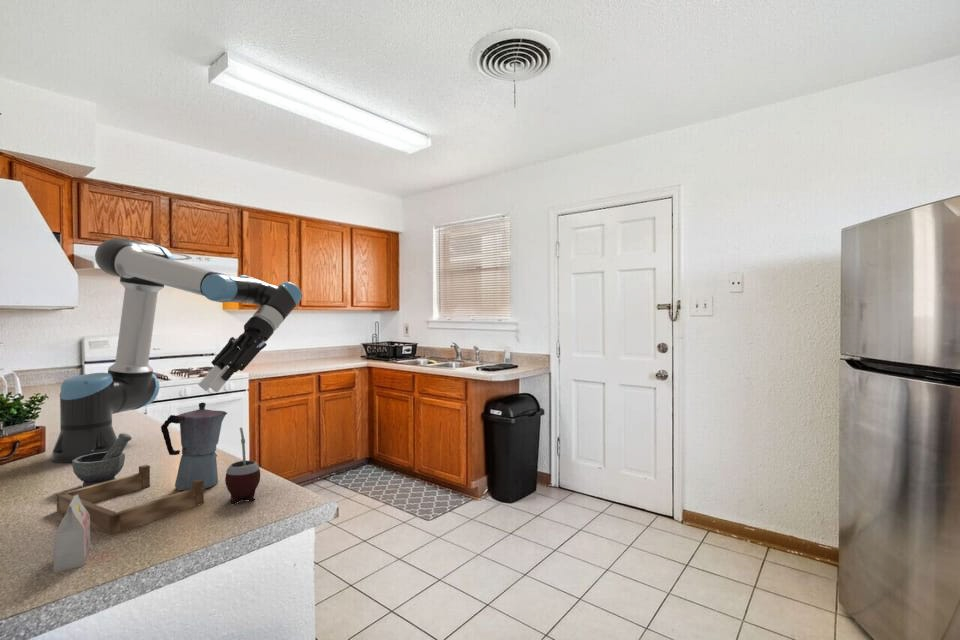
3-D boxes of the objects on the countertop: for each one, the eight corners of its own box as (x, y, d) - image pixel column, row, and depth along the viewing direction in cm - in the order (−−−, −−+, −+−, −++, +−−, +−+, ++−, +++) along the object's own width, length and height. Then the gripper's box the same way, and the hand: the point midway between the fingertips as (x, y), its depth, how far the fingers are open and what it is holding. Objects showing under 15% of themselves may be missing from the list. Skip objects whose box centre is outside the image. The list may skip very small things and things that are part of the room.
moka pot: (238, 479, 118) (238, 400, 118) (176, 501, 104) (176, 411, 104) (212, 473, 122) (213, 397, 122) (150, 493, 108) (150, 407, 108)
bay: (146, 485, 114) (146, 464, 114) (203, 503, 103) (203, 480, 103) (56, 511, 98) (56, 487, 98) (113, 535, 88) (113, 508, 88)
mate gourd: (243, 507, 101) (243, 437, 101) (214, 502, 103) (214, 434, 103) (268, 494, 108) (268, 429, 108) (240, 490, 110) (241, 427, 110)
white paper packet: (53, 572, 75) (53, 510, 75) (62, 554, 81) (62, 496, 81) (83, 565, 77) (83, 505, 77) (89, 548, 83) (89, 492, 83)
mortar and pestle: (69, 495, 107) (69, 443, 107) (74, 483, 114) (74, 434, 114) (131, 485, 113) (131, 436, 113) (132, 475, 121) (132, 428, 121)
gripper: (290, 333, 136) (237, 399, 121) (252, 332, 143) (198, 394, 129) (275, 315, 131) (218, 381, 116) (236, 315, 139) (178, 377, 124)
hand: (207, 388), depth 123 cm, fingers open, 4 cm apart
